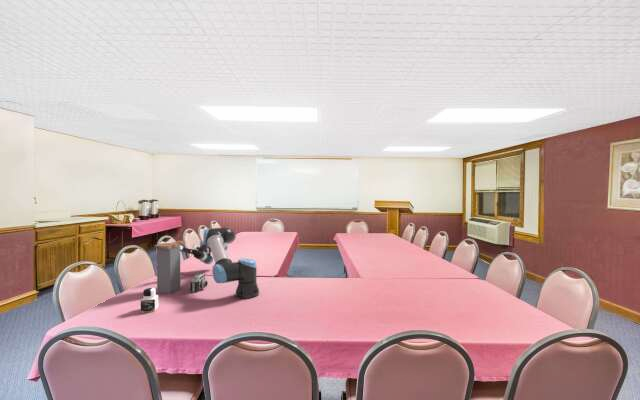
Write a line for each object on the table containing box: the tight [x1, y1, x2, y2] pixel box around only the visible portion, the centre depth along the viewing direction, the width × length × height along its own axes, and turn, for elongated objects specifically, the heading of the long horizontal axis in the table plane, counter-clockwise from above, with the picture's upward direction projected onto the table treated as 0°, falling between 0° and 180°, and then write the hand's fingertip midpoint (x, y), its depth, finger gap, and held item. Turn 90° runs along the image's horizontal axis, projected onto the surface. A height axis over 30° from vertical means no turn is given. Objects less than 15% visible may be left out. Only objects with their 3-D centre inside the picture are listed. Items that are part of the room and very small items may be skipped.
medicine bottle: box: [140, 287, 159, 314], centre depth 163 cm, size 7×7×12 cm
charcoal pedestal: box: [156, 246, 181, 295], centre depth 194 cm, size 10×10×30 cm
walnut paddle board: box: [153, 240, 185, 250], centre depth 198 cm, size 21×11×2 cm, turn 169°
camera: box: [189, 272, 209, 294], centre depth 198 cm, size 14×8×10 cm, turn 0°
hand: (185, 245), depth 212 cm, fingers open, 13 cm apart
